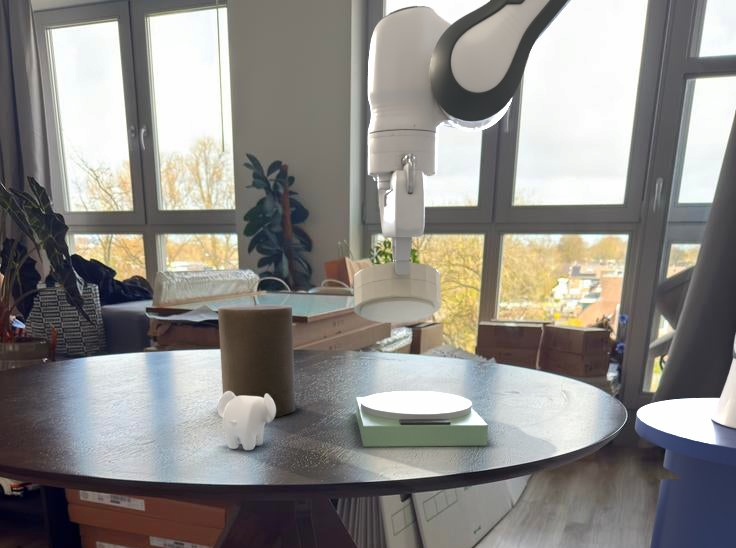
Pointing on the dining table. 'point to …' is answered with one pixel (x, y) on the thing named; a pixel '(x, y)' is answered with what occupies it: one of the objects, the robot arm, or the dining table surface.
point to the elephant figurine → (245, 418)
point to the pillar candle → (258, 352)
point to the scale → (419, 420)
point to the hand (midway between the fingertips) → (400, 274)
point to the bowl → (397, 293)
